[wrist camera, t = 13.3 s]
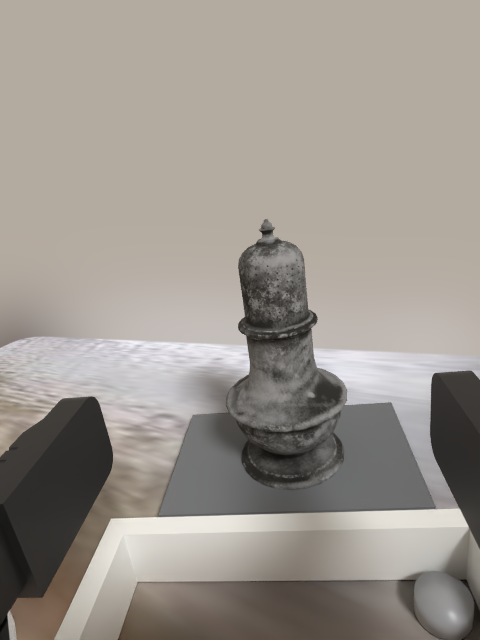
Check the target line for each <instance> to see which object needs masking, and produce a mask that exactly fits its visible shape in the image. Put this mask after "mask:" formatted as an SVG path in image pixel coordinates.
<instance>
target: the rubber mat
mask: <svg viewBox="0 0 480 640" xmlns="http://www.w3.org/2000/svg"><path fill="white" fill-rule="evenodd" d="M333 433H335V434H336V435H337V437H338V438H339V439H340V440H341V442H342V445H343V447H344V461H343V463H342V465H341V467H340V469H339V470H338V471H337V472H336V473H335V474H334V475H333V476H332V477H331V478H330V479H328V480H326V481H325V482H323V483H321V484H319V485H316V486H313V487H309V488H306V489H297V490H284V489H275V488H272V487H268V486H265V485H263V484H261V483H259V482H257V481H256V480H254V479H253V478H252V477H251V476H250V475H249V474H248V473H247V472H246V471H245V469H244V466H243V464H242V450H243V448H244V445H245V443H246V442H247V441H248V439H247V438H246V437H245V435H244V434H243V432H242V431H241V430H240V428H239V426H238V424H237V422H236V420H235V418H234V417H232V416H231V415H230V413H215V414H199V415H193V416H192V419H191V422H190V425H189V428H188V431H187V434H186V437H185V440H184V442H183V445H182V448H181V451H180V454H179V457H178V460H177V463H176V466H175V469H174V471H173V474H172V477H171V480H170V483H169V486H168V489H167V492H166V495H165V497H164V500H163V503H162V506H161V509H160V512H159V515H158V516H159V517H186V516H221V515H255V514H290V513H324V512H359V511H394V510H428V509H435V505H434V502H433V500H432V498H431V495H430V493H429V491H428V488H427V486H426V483H425V481H424V479H423V476H422V474H421V472H420V469H419V467H418V465H417V462H416V460H415V458H414V455H413V453H412V451H411V448H410V446H409V443H408V441H407V439H406V436H405V434H404V432H403V429H402V427H401V425H400V422H399V420H398V418H397V415H396V413H395V410H394V408H393V406H392V403H376V404H360V405H344V406H343V408H342V410H341V416H340V418H339V421H338V423H337V425H336V428H335V429H334V431H333Z"/></svg>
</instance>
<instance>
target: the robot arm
mask: <svg viewBox="0 0 480 640" xmlns="http://www.w3.org/2000/svg"><path fill="white" fill-rule="evenodd" d="M430 437H431V444H432V449H433V453H434V456H435V459H436V461H437V463H438V465H439V467H440V470H441V472H442V474H443V476H444V478H445V480H446V482H447V484H448V486H449V488H450V490H451V492H452V494H453V496H454V498H455V500H456V502H457V504H458V506H459V508H460V510H461V512H462V514H463V516H464V518H465V520H466V522H467V524H468V526H469V528H470V531H471V533H472V535H473V537H474V539H475V541H476V543H477V545H478V547H479V549H480V380H479V378H478V377H477V376H476V375H475V374H474V373H473V372H472V371H458V372H444V373H435V374H434V375H433V377H432V383H431V421H430ZM112 463H113V451H112V446H111V443H110V439H109V436H108V432H107V429H106V425H105V422H104V418H103V415H102V411H101V408H100V405H99V402H98V401H97V399H96V398H95V397H78V398H65V399H62V400H60V401H59V402H58V403H57V405H56V406H55V407H54V408H53V409H52V410H51V411H50V412H49V413H48V415H47V416H46V417H45V418H44V419H43V420H41V421H40V422H38V423H37V424H35V425H34V426H32V427H31V428H29V429H28V430H26V431H25V432H23V433H22V434H21V435H20V436H19V438H18V439H17V440H16V441H15V442H14V443H13V444H12V445H11V446H10V447H9V451H6V452H5V453H4V454H3V455H2V456H1V457H0V640H17V638H16V629H15V621H14V617H13V615H12V613H11V611H10V609H11V607H12V606H13V604H14V602H15V601H16V599H17V598H42V597H43V596H44V594H45V592H46V590H47V588H48V586H49V585H50V583H51V581H52V579H53V577H54V575H55V574H56V572H57V570H58V568H59V566H60V564H61V562H62V561H63V559H64V557H65V555H66V553H67V551H68V550H69V548H70V546H71V544H72V542H73V540H74V539H75V537H76V535H77V533H78V531H79V529H80V527H81V526H82V524H83V522H84V520H85V518H86V516H87V515H88V513H89V511H90V509H91V507H92V505H93V503H94V502H95V500H96V498H97V496H98V494H99V492H100V491H101V489H102V487H103V485H104V483H105V481H106V480H107V478H108V476H109V474H110V471H111V468H112Z"/></svg>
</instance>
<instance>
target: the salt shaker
mask: <svg viewBox="0 0 480 640" xmlns="http://www.w3.org/2000/svg"><path fill="white" fill-rule="evenodd" d="M274 229H275V227H272V224H271V223H270V222H269V221H268V220H267V219H265V220H264V223H263V224H262V225H261V229H259V231H260V232H262V239H259V240H258V241H257V243H256V244H254V245H252V246H250V247H249V248H247V249H246V250H245V251H244V252H243V253H242V255H241V257H240V259H239V265H238V266H239V267H238V268H239V275H240V283H241V290H242V297H243V304H244V310H245V317H244V318H243V319H242V320H241V321H240V322H239V324H238V328H239V331H240V332H241V333H242V334H244V335H246V336H247V344H248V351H249V358H250V372H249V375H247V376H246V377H244V378H242V379H241V380H239V381H238V382H237V383H236V384H235V385H234V386H233V387H232V388H231V389H230V391H229V393H228V395H227V402H226V406H227V408H228V411H229V413H230V415H231V416H232V417H234V418H235V420H236V422H237V424H238V426H239V428H240V430H241V431H242V432H243V434H244V435H245V437H246V438H247V439H248V441H247V442H246V443H245V445H244V448H243V450H242V464H243V466H244V469H245V471H246V472H247V473H248V474H249V475H250V476H251V477H252V478H253V479H254V480H256V481H257V482H259V483H261V484H263V485H265V486H268V487H272V488H275V489H284V490H297V489H306V488H309V487H313V486H316V485H319V484H321V483H323V482H325V481H326V480H328V479H330V478H331V477H332V476H333V475H334V474H335V473H336V472H337V471H338V470H339V469H340V467H341V465H342V463H343V461H344V447H343V445H342V442H341V440H340V439H339V438H338V437H337V435H336V434H335V433H333V431H334V429H335V428H336V425H337V423H338V421H339V418H340V416H341V410H342V408H343V406H344V404H345V403H346V401H347V389H346V387H345V385H344V383H343V382H342V381H341V380H340V379H339V378H338V377H337V376H336V375H334V374H332V373H330V372H328V371H326V370H323V369H320V368H317V366H316V363H315V360H314V354H313V342H312V331H311V328H312V327H313V326H314V325H315V324H316V323H317V316H316V314H315V313H313V312H312V311H311V310H308V303H307V291H306V279H305V267H304V258H303V255H302V252H301V251H300V250H299V249H298V247H297V246H296V245H294V244H292V243H290V242H287V241H281V240H280V239H279V238H278V237H274V236H273V233H272V232H273V230H274Z"/></svg>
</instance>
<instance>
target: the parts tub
mask: <svg viewBox="0 0 480 640" xmlns="http://www.w3.org/2000/svg"><path fill="white" fill-rule="evenodd" d="M459 579H466V580H467V582H468V585H469V587H470V589H471V592H472V594H473V596H474V599H475V601H476V603H477V606H478V608H479V611H480V549H479V547H478V545H477V543H476V541H475V539H474V537H473V535H472V533H471V531H470V528H469V526H468V524H467V522H466V520H465V518H464V516H463V514H462V512H461V510H460V509H428V510H394V511H359V512H324V513H290V514H255V515H221V516H186V517H152V518H117V519H111V520H110V522H109V524H108V526H107V528H106V531H105V533H104V535H103V537H102V539H101V541H100V543H99V545H98V548H97V550H96V552H95V554H94V556H93V558H92V560H91V562H90V565H89V567H88V569H87V571H86V573H85V575H84V577H83V579H82V582H81V584H80V586H79V588H78V590H77V592H76V594H75V596H74V599H73V601H72V603H71V605H70V607H69V609H68V611H67V613H66V616H65V618H64V620H63V622H62V624H61V626H60V628H59V630H58V632H57V635H56V637H55V639H54V640H118V638H119V635H120V632H121V629H122V626H123V623H124V620H125V617H126V614H127V611H128V608H129V606H130V603H131V600H132V597H133V594H134V591H135V588H136V585H137V582H186V581H320V580H416V582H415V585H414V611H415V614H416V617H417V619H418V621H419V622H420V624H421V625H422V626H423V627H424V628H425V629H426V630H427V631H428V632H430V633H431V634H432V635H434V636H436V637H438V638H441V639H444V640H460V639H463V638H465V637H466V636H467V635H468V634H469V633H470V632H471V630H472V626H473V615H474V600H473V597H472V594H471V592H470V591H469V589H468V588H467V587H466V586H465V585H464V584H463V583H462V582H461V581H460V580H459Z"/></svg>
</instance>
